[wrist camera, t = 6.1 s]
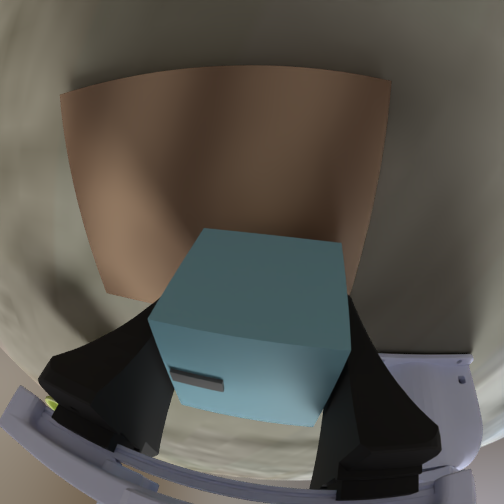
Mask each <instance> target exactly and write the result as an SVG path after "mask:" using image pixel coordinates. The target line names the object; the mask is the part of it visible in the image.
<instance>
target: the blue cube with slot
mask: <svg viewBox="0 0 504 504" xmlns="http://www.w3.org/2000/svg"><path fill="white" fill-rule="evenodd" d="M148 322H149V325H150V327H151V330H152V333H153V336H154V339H155V341H156V344H157V347H158V349H159V352H160V354H161V357H162V359H163V362H164V364H165V367H166V369H167V372H168V374H169V377H170V379H171V381H172V384H173V386H174V388H175V391H176V393H177V395H178V397H179V400H180V402H181V404H182V405H186V406H190V407H194V408H198V409H202V410H206V411H211V412H215V413H220V414H225V415H230V416H235V417H240V418H246V419H252V420H258V421H264V422H271V423H279V424H287V425H297V426H307V427H313V426H314V424H315V423H316V421H317V419H318V417H319V415H320V414H321V412H322V410H323V408H324V406H325V404H326V402H327V400H328V398H329V396H330V394H331V392H332V390H333V388H334V386H335V384H336V382H337V380H338V378H339V376H340V374H341V372H342V370H343V367H344V365H345V363H346V361H347V359H348V356H349V354H350V352H351V338H350V322H349V308H348V297H347V286H346V276H345V267H344V258H343V250H342V243H337V242H328V241H320V240H311V239H302V238H294V237H285V236H276V235H266V234H257V233H248V232H238V231H228V230H218V229H208V228H204V229H203V230H202V232H201V233H200V235H199V236H198V238H197V240H196V241H195V243H194V244H193V246H192V247H191V249H190V250H189V252H188V254H187V255H186V257H185V258H184V260H183V261H182V263H181V265H180V266H179V268H178V269H177V271H176V273H175V274H174V276H173V277H172V279H171V281H170V282H169V284H168V286H167V287H166V289H165V291H164V292H163V294H162V295H161V297H160V299H159V300H158V302H157V304H156V305H155V307H154V309H153V311H152V312H151V314H150V316H149V317H148Z"/></svg>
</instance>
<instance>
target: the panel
mask: <svg viewBox="0 0 504 504" xmlns="http://www.w3.org/2000/svg"><path fill="white" fill-rule="evenodd" d="M390 92H391V81H389V80H385V79H380V78H375V77H370V76H364V75H359V74H353V73H346V72H340V71H332V70H324V69H315V68H304V67H290V66H266V65H235V66H211V67H197V68H186V69H177V70H169V71H161V72H154V73H148V74H142V75H136V76H131V77H126V78H121V79H116V80H112V81H107V82H103V83H99V84H95V85H91V86H87V87H84V88H80V89H77V90H73V91H70V92H67V93H64V94H61V95H60V102H61V112H62V120H63V128H64V135H65V141H66V148H67V153H68V159H69V164H70V169H71V174H72V179H73V183H74V188H75V192H76V196H77V200H78V204H79V208H80V212H81V216H82V220H83V223H84V227H85V230H86V234H87V237H88V240H89V243H90V247H91V250H92V253H93V256H94V259H95V262H96V265H97V268H98V270H99V273H100V276H101V279H102V282H103V284H104V287H105V290H106V292H107V293H109V294H113V295H118V296H122V297H126V298H130V299H135V300H139V301H144V302H149V303H154V302H155V301H156V300H157V299H159V298H160V297H161V295H162V294H163V292H164V291H165V289H166V287H167V286H168V284H169V282H170V281H171V279H172V277H173V276H174V274H175V273H176V271H177V269H178V268H179V266H180V265H181V263H182V261H183V260H184V258H185V257H186V255H187V254H188V252H189V250H190V249H191V247H192V246H193V244H194V243H195V241H196V240H197V238H198V236H199V235H200V233H201V232H202V230H203V229H204V228H208V229H218V230H228V231H238V232H248V233H257V234H266V235H276V236H285V237H294V238H302V239H311V240H320V241H328V242H337V243H342V250H343V258H344V267H345V276H346V286H347V295H349V296H350V293H351V290H352V287H353V283H354V280H355V276H356V273H357V269H358V266H359V262H360V258H361V255H362V251H363V247H364V243H365V239H366V235H367V231H368V226H369V222H370V218H371V213H372V209H373V204H374V199H375V194H376V189H377V184H378V179H379V173H380V168H381V162H382V156H383V149H384V143H385V136H386V128H387V120H388V112H389V103H390Z"/></svg>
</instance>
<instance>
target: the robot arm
mask: <svg viewBox="0 0 504 504" xmlns="http://www.w3.org/2000/svg"><path fill="white" fill-rule="evenodd" d="M347 297H348V308H349V322H350V338H351V352H350V354H349V356H348V359H347V361H346V363H345V365H344V367H343V370H342V372H341V374H340V376H339V378H338V380H337V382H336V384H335V386H334V388H333V390H332V392H331V394H330V396H329V398H328V400H327V402H326V404H325V406H324V408H323V417H322V425H321V432H320V439H319V445H318V451H317V456H316V461H315V466H314V471H313V476H312V480H311V484H310V489H296V488H285V487H275V486H267V485H260V484H253V483H247V482H241V481H236V480H231V479H226V478H222V477H217V476H213V475H209V474H205V473H200V472H197V471H193V470H190V469H186V468H183V467H179V466H176V465H173V464H170V463H167V462H164V461H161V460H158V459H155V458H152V457H154V456H156V455H158V453H159V448H160V443H161V438H162V433H163V429H164V424H165V420H166V416H167V412H168V409H169V405H170V402H171V398H172V395H173V392H174V386H173V384H172V381H171V379H170V377H169V374H168V372H167V369H166V367H165V364H164V362H163V359H162V357H161V354H160V352H159V349H158V347H157V344H156V341H155V339H154V336H153V333H152V330H151V327H150V325H149V322H148V317H149V316H150V314H151V312H152V311H153V309H154V307H155V305H156V304H157V302H158V300H159V299H160V298H159V299H157V300H156V301H155V302H154V303H153V304H151V305H150V306H149V307H148V308H146V309H145V310H144V311H142V312H141V313H140V314H138V315H137V316H136V317H134V318H133V319H131V320H130V321H128V322H127V323H125V324H124V325H122V326H121V327H119V328H117V329H116V330H114V331H112V332H110V333H108V334H107V335H105V336H103V337H101V338H99V339H97V340H95V341H93V342H91V343H89V344H86V345H84V346H82V347H79V348H77V349H74V350H71V351H68V352H65V353H62V354H59V355H56V356H53V357H52V358H51V359H50V361H49V362H48V364H47V365H46V367H45V369H44V370H43V372H42V373H41V375H40V376H39V378H38V381H39V384H40V385H41V387H42V388H43V389H44V390H45V391H46V392H47V393H48V394H49V395H50V396H51V397H52V398H53V399H54V400H55V401H56V402H57V403H58V405H57V407H56V409H55V411H54V410H52V409H51V408H49V407H47V406H46V405H45V403H44V402H43V401H42V400H41V399H39V398H38V397H37V396H36V395H34V394H33V393H32V392H30V391H29V390H27V389H26V388H24V387H23V386H21V385H20V386H19V388H18V389H17V391H16V392H15V394H14V396H13V397H12V399H11V401H10V402H9V404H8V406H7V408H6V409H5V411H4V413H3V415H2V417H1V418H0V427H1V428H3V429H4V430H5V431H6V432H7V433H8V434H9V435H10V436H11V437H13V438H14V439H15V440H16V441H17V442H18V443H19V444H20V445H21V446H23V447H24V448H25V449H26V450H27V451H28V452H29V453H31V454H32V455H33V456H34V457H35V458H37V459H38V460H39V461H40V462H41V463H43V464H44V465H45V466H47V467H48V468H49V469H51V470H52V471H53V472H54V473H56V474H57V475H58V476H60V477H61V478H63V479H64V480H66V481H67V482H68V483H70V484H72V485H73V486H74V487H76V488H77V489H79V490H80V491H82V492H84V493H85V494H87V495H88V496H90V497H91V498H93V499H95V500H96V501H97V504H192V503H189V502H185V501H182V500H179V499H176V498H172V497H169V496H166V495H163V494H160V493H157V491H158V488H159V485H158V484H157V483H155V482H153V481H151V480H149V479H147V478H145V477H144V476H143V475H141V474H139V473H137V472H134V471H132V470H130V469H128V468H126V467H123V466H122V464H121V463H124V464H126V465H128V466H131V467H133V468H136V469H138V470H141V471H143V472H146V473H148V474H151V475H154V476H157V477H160V478H162V479H165V480H168V481H171V482H174V483H178V484H181V485H184V486H187V487H191V488H195V489H198V490H203V491H206V492H210V493H214V494H219V495H223V496H228V497H233V498H238V499H244V500H250V501H256V502H263V503H271V504H476V488H475V481H474V477H473V474H472V470H471V469H467V470H465V469H463V468H465V467H466V466H468V465H469V464H470V463H471V462H472V460H473V459H474V458H475V456H476V455H477V453H478V451H479V448H480V445H481V441H482V435H483V424H482V418H481V413H480V408H479V403H478V399H477V395H476V390H475V386H474V383H473V379H472V375H471V371H470V368H469V365H470V363H471V362H472V361H473V355H472V354H450V355H418V354H386V353H378V352H377V351H376V349H375V347H374V345H373V344H372V342H371V340H370V338H369V336H368V334H367V332H366V330H365V328H364V326H363V324H362V322H361V320H360V318H359V316H358V313H357V311H356V309H355V306H354V304H353V302H352V299H351V297H350V296H349V295H347ZM461 469H463V470H461ZM459 470H461V471H459Z"/></svg>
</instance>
